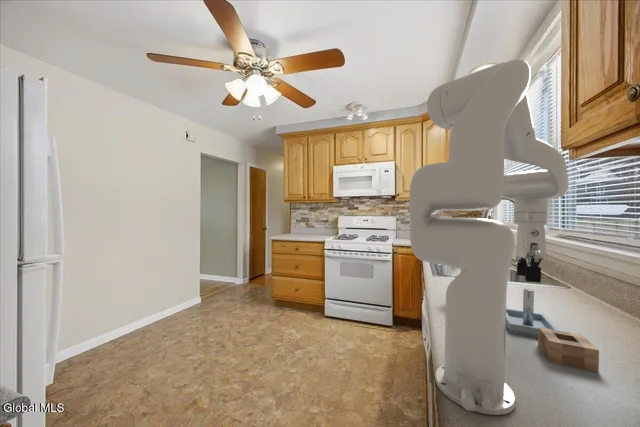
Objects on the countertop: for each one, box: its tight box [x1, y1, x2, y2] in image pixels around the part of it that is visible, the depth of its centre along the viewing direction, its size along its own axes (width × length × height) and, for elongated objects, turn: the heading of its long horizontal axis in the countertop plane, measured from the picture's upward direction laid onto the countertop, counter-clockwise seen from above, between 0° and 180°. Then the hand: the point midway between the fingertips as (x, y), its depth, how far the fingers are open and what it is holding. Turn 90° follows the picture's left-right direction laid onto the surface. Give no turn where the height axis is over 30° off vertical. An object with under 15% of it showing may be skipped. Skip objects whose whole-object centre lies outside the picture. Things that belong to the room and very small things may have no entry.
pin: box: [522, 288, 535, 326], centre depth 75 cm, size 2×2×10 cm
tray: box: [506, 307, 561, 339], centre depth 75 cm, size 14×11×2 cm
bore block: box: [537, 327, 600, 373], centre depth 59 cm, size 8×8×5 cm
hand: (527, 278), depth 74 cm, fingers open, 9 cm apart
